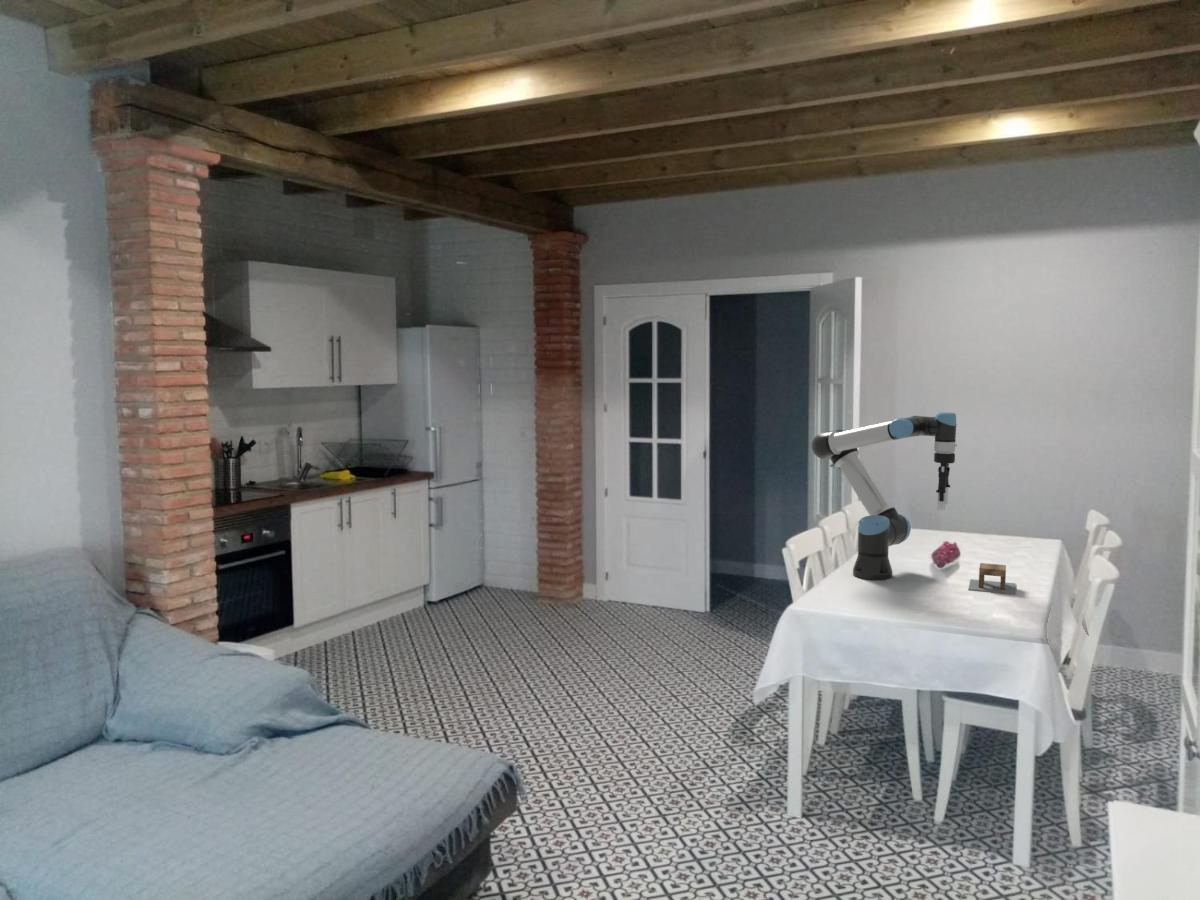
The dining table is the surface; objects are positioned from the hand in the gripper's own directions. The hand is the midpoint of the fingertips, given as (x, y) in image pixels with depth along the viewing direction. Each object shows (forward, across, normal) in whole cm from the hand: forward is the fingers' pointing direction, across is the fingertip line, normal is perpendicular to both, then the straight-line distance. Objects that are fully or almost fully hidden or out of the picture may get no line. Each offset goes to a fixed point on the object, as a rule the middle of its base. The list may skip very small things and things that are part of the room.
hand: (942, 506), depth 356 cm
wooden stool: (+28, -6, -19) cm, 34 cm away
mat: (+28, -6, -19) cm, 35 cm away
